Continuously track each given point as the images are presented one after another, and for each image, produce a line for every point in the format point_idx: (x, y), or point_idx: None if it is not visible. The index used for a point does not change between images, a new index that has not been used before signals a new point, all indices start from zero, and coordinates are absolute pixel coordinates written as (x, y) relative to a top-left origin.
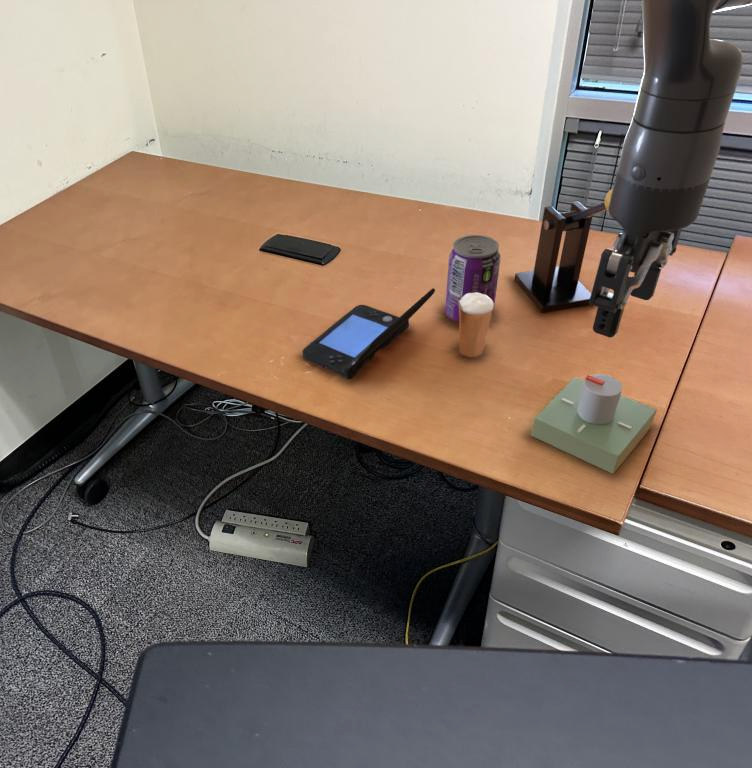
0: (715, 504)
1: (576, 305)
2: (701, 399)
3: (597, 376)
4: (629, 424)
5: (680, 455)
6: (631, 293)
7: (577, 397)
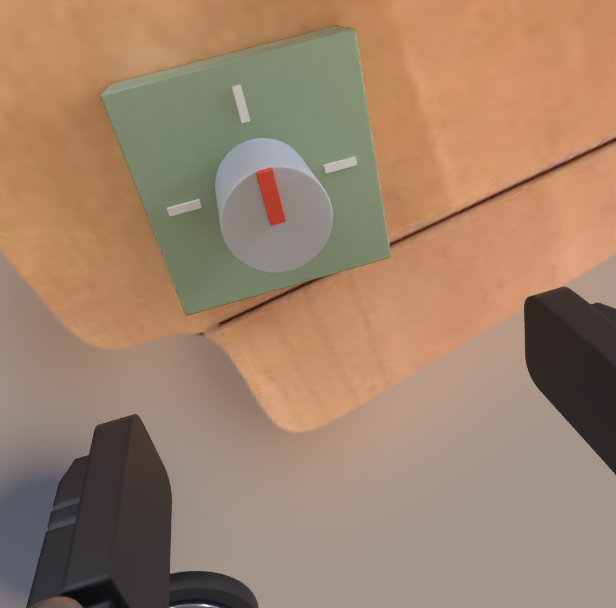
0: (279, 415)
1: None
2: (529, 233)
3: (297, 184)
4: None
5: (342, 316)
6: (531, 305)
7: (280, 107)
